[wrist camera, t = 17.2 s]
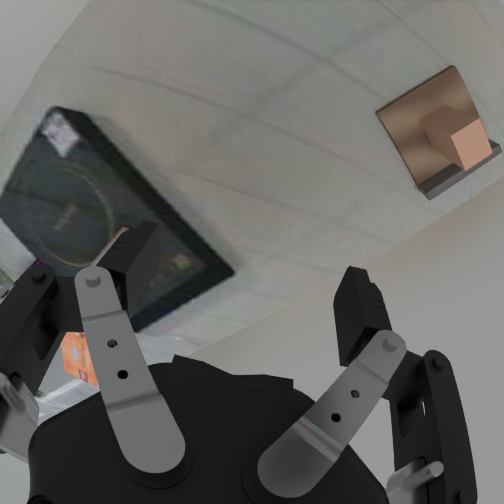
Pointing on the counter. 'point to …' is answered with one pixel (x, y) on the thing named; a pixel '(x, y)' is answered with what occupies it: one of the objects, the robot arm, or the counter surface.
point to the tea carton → (457, 136)
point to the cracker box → (82, 340)
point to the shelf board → (415, 139)
